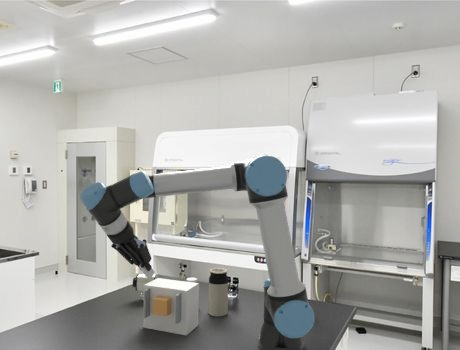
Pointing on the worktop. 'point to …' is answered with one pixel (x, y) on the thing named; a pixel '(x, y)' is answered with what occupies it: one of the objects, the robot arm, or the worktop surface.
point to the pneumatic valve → (142, 282)
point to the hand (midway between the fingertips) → (151, 275)
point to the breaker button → (162, 306)
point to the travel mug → (218, 292)
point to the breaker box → (172, 306)
